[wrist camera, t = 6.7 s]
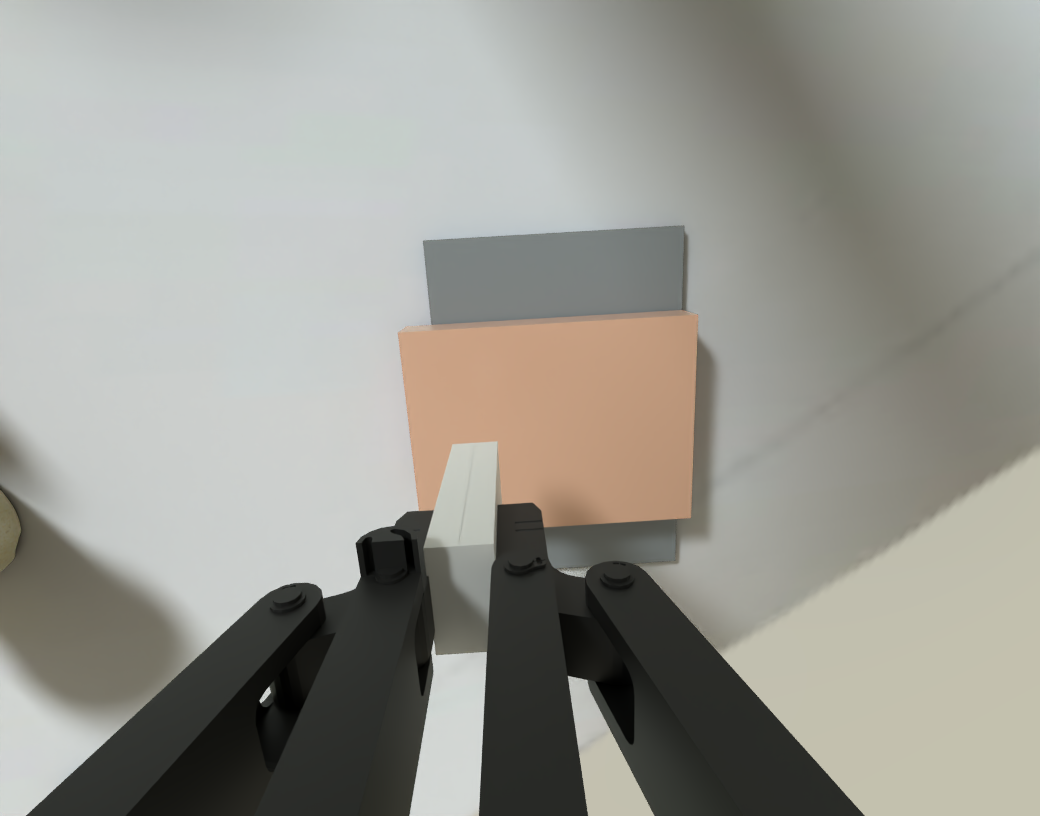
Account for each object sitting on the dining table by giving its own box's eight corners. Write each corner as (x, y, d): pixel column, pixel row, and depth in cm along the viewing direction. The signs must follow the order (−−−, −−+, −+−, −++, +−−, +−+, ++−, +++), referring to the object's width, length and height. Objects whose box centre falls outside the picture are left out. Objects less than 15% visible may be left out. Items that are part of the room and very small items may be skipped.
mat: (424, 241, 23) (423, 240, 22) (680, 226, 23) (684, 225, 22) (457, 569, 27) (456, 574, 27) (672, 555, 27) (675, 560, 27)
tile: (397, 332, 21) (697, 314, 21) (407, 325, 23) (680, 309, 23) (422, 535, 24) (690, 517, 24) (428, 512, 26) (675, 497, 26)
